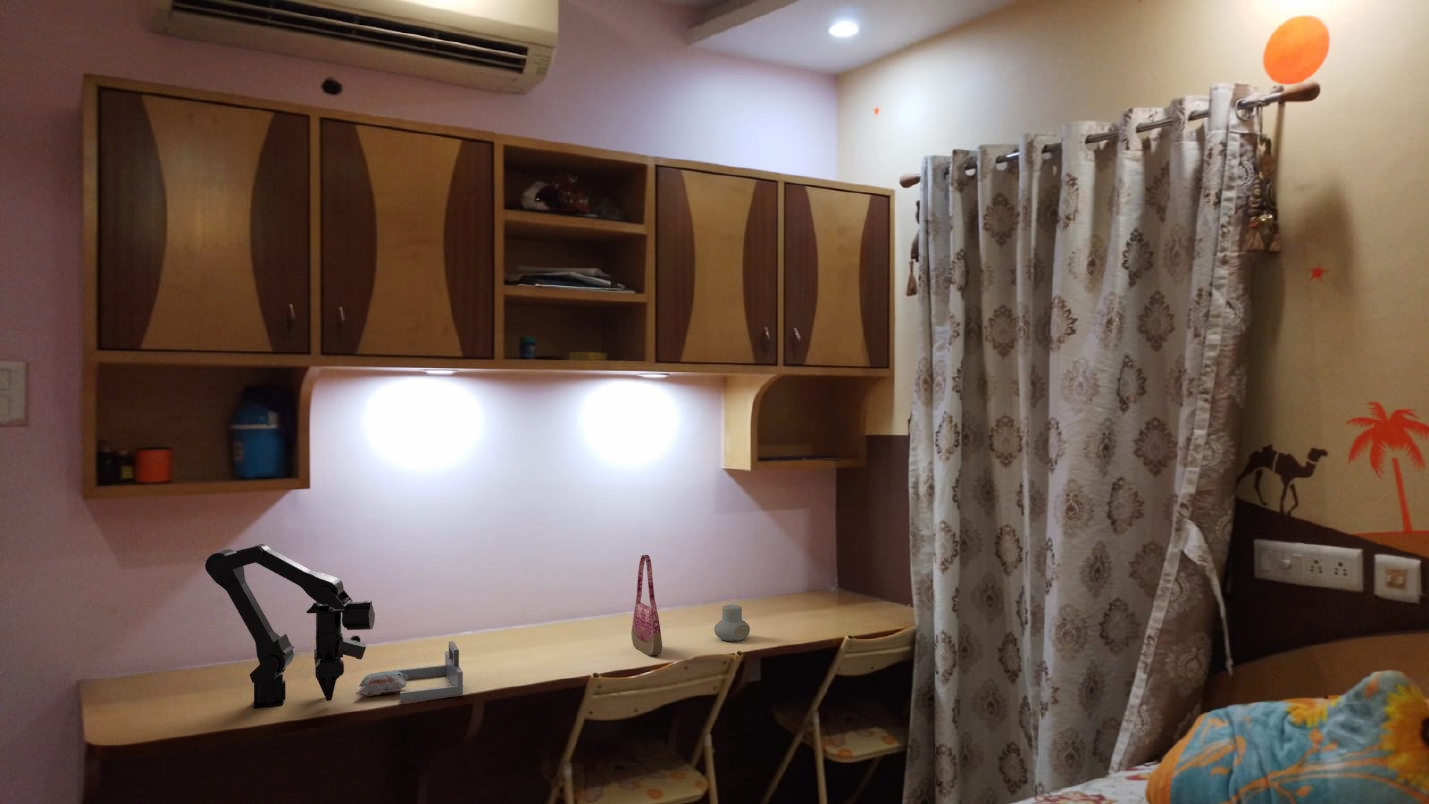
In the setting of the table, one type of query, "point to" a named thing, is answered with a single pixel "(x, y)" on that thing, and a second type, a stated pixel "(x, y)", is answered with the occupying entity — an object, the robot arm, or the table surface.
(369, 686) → the packaged food
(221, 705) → the table surface
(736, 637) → the air freshener
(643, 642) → the shoulder bag
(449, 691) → the grey u-shaped frame
